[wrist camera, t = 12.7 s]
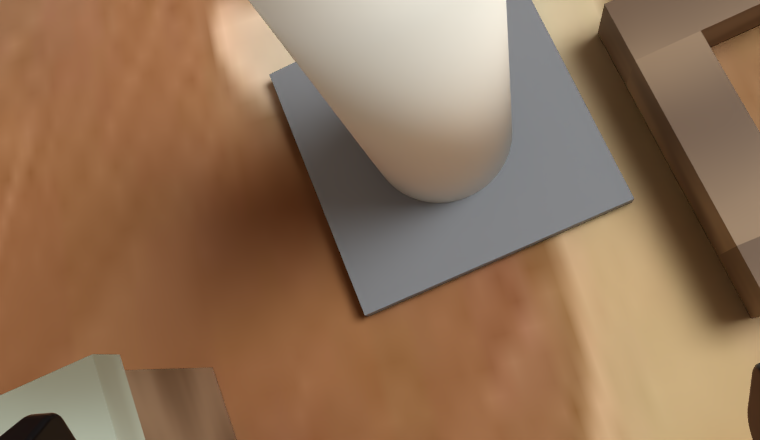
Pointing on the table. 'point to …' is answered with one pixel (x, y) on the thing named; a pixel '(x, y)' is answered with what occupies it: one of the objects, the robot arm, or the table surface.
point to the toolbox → (124, 402)
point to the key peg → (410, 84)
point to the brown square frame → (697, 116)
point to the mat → (477, 212)
